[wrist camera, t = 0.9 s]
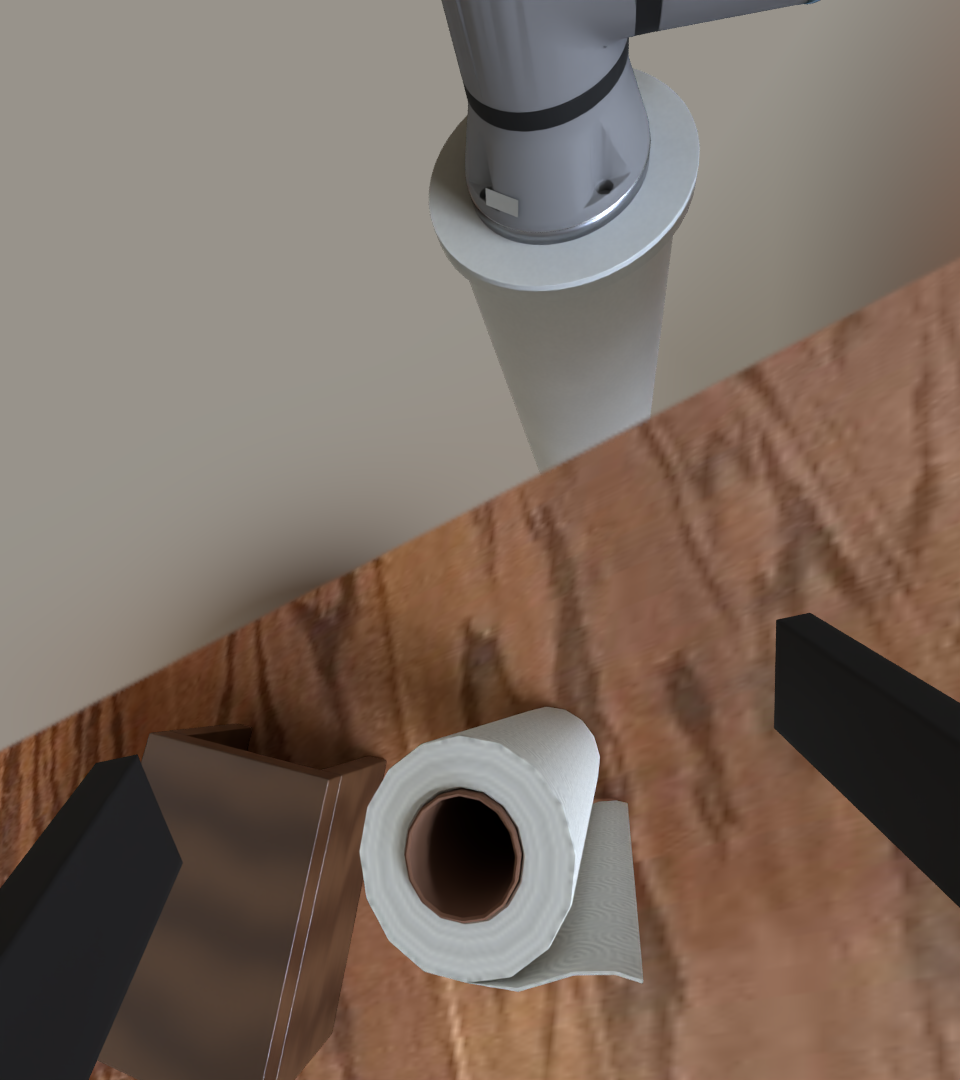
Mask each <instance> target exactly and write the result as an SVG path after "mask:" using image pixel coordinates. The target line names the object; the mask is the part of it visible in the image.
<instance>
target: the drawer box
mask: <svg viewBox="0 0 960 1080" xmlns="http://www.w3.org/2000/svg"><path fill="white" fill-rule="evenodd" d="M251 731H252V727H249V726H245V725H241V724H237V723H236V724H227V725H217V726H208V727H199V728H189V729H180V730H170V731H163V732H153V733H150V734H149V737H148V741H147V744H146V748H145V751H144V755H143V758H142V762H141V764H142V767H143V769H144V771H145V774H146V776H147V779H148V781H149V783H150V786H151V788H152V790H153V793H154V795H155V797H156V800H157V802H158V805H159V807H160V809H161V812H162V814H163V816H164V819H165V821H166V824H167V826H168V828H169V831H170V833H171V835H172V838H173V840H174V842H175V845H176V847H177V850H178V852H179V854H180V857H181V859H182V861H183V864H182V866H181V869H180V871H179V873H178V875H177V878H176V880H175V882H174V885H173V887H172V889H171V892H170V894H169V896H168V898H167V901H166V903H165V905H164V908H163V910H162V912H161V914H160V917H159V919H158V921H157V924H156V926H155V928H154V931H153V933H152V935H151V937H150V940H149V942H148V944H147V947H146V949H145V951H144V953H143V956H142V958H141V960H140V963H139V965H138V967H137V970H136V972H135V974H134V976H133V979H132V981H131V983H130V986H129V988H128V990H127V993H126V995H125V997H124V999H123V1002H122V1004H121V1006H120V1009H119V1011H118V1013H117V1015H116V1018H115V1020H114V1022H113V1025H112V1027H111V1029H110V1032H109V1034H108V1036H107V1038H106V1041H105V1043H104V1045H103V1048H102V1050H101V1052H100V1055H99V1057H98V1059H97V1060H98V1061H100V1062H102V1063H104V1064H106V1065H108V1066H110V1067H112V1068H115V1069H117V1070H119V1071H121V1072H123V1073H125V1074H127V1075H129V1076H131V1077H134V1078H136V1079H138V1080H295V1079H296V1077H297V1076H298V1075H299V1074H300V1072H301V1071H302V1070H303V1069H304V1067H305V1066H306V1065H307V1064H308V1063H309V1061H310V1060H311V1059H312V1058H313V1056H314V1055H315V1054H316V1053H317V1051H318V1050H319V1049H320V1048H321V1047H322V1045H323V1044H324V1043H325V1042H326V1040H327V1039H328V1038H329V1037H330V1035H331V1034H332V1031H333V1026H334V1021H335V1016H336V1011H337V1006H338V1001H339V996H340V991H341V986H342V981H343V976H344V971H345V966H346V961H347V956H348V951H349V946H350V941H351V936H352V931H353V926H354V921H355V916H356V911H357V906H358V901H359V896H360V891H361V886H362V881H363V871H362V865H361V858H360V846H361V840H362V835H363V829H364V823H365V818H366V812H367V807H368V805H369V803H370V802H371V800H372V798H373V796H374V795H375V793H376V791H377V790H378V788H379V786H380V784H381V783H382V781H383V777H384V772H385V767H386V760H384V759H380V758H376V757H372V756H367V757H363V758H360V759H357V760H353V761H350V762H346V763H343V764H340V765H336V766H333V767H329V768H326V769H323V770H318V769H314V768H311V767H307V766H303V765H299V764H295V763H291V762H287V761H283V760H280V759H276V758H272V757H268V756H264V755H260V754H256V753H252V752H249V751H247V747H248V743H249V739H250V735H251Z"/></svg>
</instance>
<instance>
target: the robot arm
mask: <svg viewBox="0 0 960 1080" xmlns="http://www.w3.org/2000/svg"><path fill="white" fill-rule="evenodd" d="M818 1H820V0H442V4H443V8H444V11H445V15H446V19H447V23H448V27H449V31H450V34H451V38H452V42H453V46H454V49H455V53H456V57H457V61H458V65H459V68H460V73H461V76H462V79H463V83H464V87H465V91H466V95H467V99H468V118H467V137H466V156H465V172H466V182H467V187H468V191H469V194H470V197H471V201H472V204H473V207H474V209H475V211H476V213H477V215H478V216H479V218H480V219H481V220H482V222H483V223H484V224H485V225H486V226H487V227H488V228H489V229H491V230H492V231H494V232H495V233H496V234H498V235H500V236H502V237H504V238H506V239H509V240H512V241H515V242H519V243H524V244H531V245H550V244H558V243H563V242H568V241H571V240H575V239H578V238H581V237H583V236H586V235H588V234H590V233H592V232H594V231H596V230H598V229H600V228H601V227H603V226H605V225H606V224H608V223H609V222H610V221H612V220H613V219H614V218H616V217H617V216H618V215H619V214H620V213H621V212H622V211H623V210H624V209H625V208H626V207H627V206H628V205H629V204H630V203H631V202H632V200H633V199H634V198H635V196H636V195H637V193H638V192H639V190H640V188H641V186H642V184H643V182H644V180H645V177H646V174H647V171H648V166H649V157H650V142H651V139H650V129H649V121H648V116H647V113H646V110H645V107H644V104H643V101H642V97H641V94H640V91H639V88H638V85H637V82H636V78H635V75H634V72H633V69H632V66H631V63H630V59H629V56H628V49H629V47H628V46H629V44H628V43H629V37H633V36H636V35H641V34H645V33H650V32H655V31H661V30H666V29H672V28H677V27H682V26H688V25H693V24H698V23H703V22H709V21H714V20H719V19H724V18H730V17H735V16H740V15H746V14H751V13H756V12H761V11H767V10H772V9H777V8H782V7H787V6H793V5H800V4H811V3H815V2H818ZM774 728H775V729H776V730H777V731H778V732H779V733H780V734H781V735H782V736H783V737H784V738H785V739H786V740H787V741H788V742H789V743H790V744H791V745H792V746H793V747H794V748H795V749H796V750H797V751H798V752H799V753H800V754H801V755H803V756H804V757H805V758H806V759H807V760H808V761H809V762H810V763H811V764H812V765H813V766H814V767H815V768H816V769H817V770H818V771H819V772H820V773H821V774H822V775H823V776H824V777H825V778H826V779H827V780H828V781H829V782H830V783H831V784H832V785H834V786H835V787H836V788H837V789H838V790H839V791H840V792H841V793H842V794H843V795H844V796H845V797H846V798H847V799H848V800H849V801H850V802H851V803H852V804H853V805H854V806H855V807H856V808H857V809H858V810H859V811H860V812H861V813H862V814H864V815H865V816H866V817H867V818H868V819H869V820H870V821H871V822H872V823H873V824H874V825H875V826H876V827H877V828H878V829H879V830H880V831H881V832H882V833H883V834H884V835H885V836H886V837H887V838H888V839H889V840H890V841H891V842H892V843H893V844H895V845H896V846H897V847H898V848H899V849H900V850H901V851H902V852H903V853H904V854H905V855H906V856H907V857H908V858H909V859H910V860H911V861H912V862H913V863H914V864H915V865H916V866H917V867H918V868H919V869H920V870H921V871H922V872H923V873H924V874H926V875H927V876H928V877H929V878H930V879H931V880H932V881H933V882H934V883H935V884H936V885H937V886H938V887H939V888H940V889H941V890H942V891H943V892H944V893H945V894H946V895H947V896H948V897H949V898H950V899H951V900H952V901H953V902H954V903H955V904H957V905H958V906H959V907H960V703H959V702H957V701H956V700H954V699H952V698H951V697H949V696H947V695H946V694H944V693H942V692H941V691H939V690H937V689H936V688H934V687H932V686H931V685H929V684H927V683H926V682H924V681H922V680H921V679H919V678H917V677H916V676H914V675H912V674H911V673H909V672H907V671H906V670H904V669H902V668H901V667H899V666H897V665H896V664H894V663H892V662H891V661H889V660H887V659H886V658H884V657H883V656H881V655H879V654H878V653H876V652H874V651H873V650H871V649H869V648H868V647H866V646H864V645H863V644H861V643H859V642H858V641H856V640H854V639H853V638H851V637H849V636H848V635H846V634H844V633H843V632H841V631H839V630H838V629H836V628H834V627H833V626H831V625H829V624H828V623H826V622H824V621H823V620H821V619H819V618H818V617H816V616H814V615H813V614H811V613H807V614H802V615H797V616H793V617H788V618H783V619H778V620H776V662H775V711H774ZM182 864H183V861H182V859H181V857H180V854H179V852H178V850H177V847H176V845H175V842H174V840H173V838H172V835H171V833H170V831H169V828H168V826H167V824H166V821H165V819H164V816H163V814H162V812H161V809H160V807H159V805H158V802H157V800H156V797H155V795H154V793H153V790H152V788H151V786H150V783H149V781H148V779H147V776H146V774H145V771H144V769H143V767H142V764H141V762H140V760H139V757H138V755H132V756H127V757H123V758H118V759H113V760H108V761H104V762H99V763H96V764H95V765H94V766H93V768H92V769H91V770H90V772H89V773H88V774H87V776H86V777H85V778H84V779H83V781H82V782H81V783H80V785H79V786H78V787H77V789H76V790H75V791H74V793H73V794H72V795H71V796H70V798H69V799H68V800H67V802H66V803H65V804H64V806H63V807H62V808H61V810H60V811H59V812H58V813H57V815H56V816H55V817H54V819H53V820H52V821H51V823H50V824H49V825H48V827H47V828H46V829H45V830H44V832H43V833H42V834H41V836H40V837H39V838H38V840H37V841H36V842H35V844H34V845H33V846H32V848H31V849H30V850H29V851H28V853H27V854H26V855H25V857H24V858H23V859H22V861H21V862H20V863H19V865H18V866H17V867H16V868H15V870H14V871H13V872H12V874H11V875H10V876H9V878H8V879H7V880H6V882H5V883H4V884H3V885H2V887H1V888H0V1080H89V1077H90V1075H91V1073H92V1071H93V1068H94V1066H95V1064H96V1061H97V1059H98V1057H99V1055H100V1052H101V1050H102V1048H103V1045H104V1043H105V1041H106V1038H107V1036H108V1034H109V1032H110V1029H111V1027H112V1025H113V1022H114V1020H115V1018H116V1015H117V1013H118V1011H119V1009H120V1006H121V1004H122V1002H123V999H124V997H125V995H126V993H127V990H128V988H129V986H130V983H131V981H132V979H133V976H134V974H135V972H136V970H137V967H138V965H139V963H140V960H141V958H142V956H143V953H144V951H145V949H146V947H147V944H148V942H149V940H150V937H151V935H152V933H153V931H154V928H155V926H156V924H157V921H158V919H159V917H160V914H161V912H162V910H163V908H164V905H165V903H166V901H167V898H168V896H169V894H170V892H171V889H172V887H173V885H174V882H175V880H176V878H177V875H178V873H179V871H180V869H181V866H182Z"/></svg>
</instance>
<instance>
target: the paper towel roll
mask: <svg viewBox="0 0 960 1080" xmlns="http://www.w3.org/2000/svg"><path fill="white" fill-rule="evenodd" d="M599 760H600V755H599V752H598V748H597V745H596V741H595V738H594V736H593V734H592V733H591V732H590V730H589V729H588V728H587V726H586V725H585V724H584V722H583V721H582V720H581V719H579V718H578V717H576V716H574V715H573V714H571V713H570V712H568V711H566V710H564V709H558V708H552V707H543V708H539V709H535V710H531V711H527V712H524V713H521V714H517V715H514V716H511V717H508V718H504V719H501V720H498V721H495V722H491V723H488V724H485V725H482V726H478V727H475V728H472V729H468V730H465V731H462V732H459V733H455V734H452V735H449V736H446V737H442V738H439V739H436V740H433V741H429V742H426V743H423V744H421V745H419V746H418V747H417V748H416V749H414V750H413V751H412V752H410V753H409V754H408V755H407V756H405V757H404V758H403V759H401V760H400V761H399V762H398V763H396V764H395V765H394V766H393V767H391V768H390V769H389V770H388V772H387V774H386V776H385V777H384V779H383V781H382V783H381V784H380V786H379V788H378V790H377V791H376V793H375V795H374V796H373V798H372V800H371V802H370V803H369V805H368V807H367V812H366V818H365V823H364V829H363V835H362V840H361V846H360V858H361V865H362V871H363V878H364V884H365V891H366V897H367V900H368V902H369V904H370V906H371V908H372V909H373V911H374V913H375V915H376V917H377V919H378V921H379V923H380V925H381V926H382V928H383V930H384V932H385V934H386V936H387V938H388V940H389V941H390V942H391V943H392V944H393V945H395V946H396V947H397V948H398V949H399V950H400V951H401V952H403V953H404V954H405V955H406V956H407V957H408V958H409V959H411V960H412V961H413V962H414V963H415V964H416V965H417V966H419V967H420V968H421V969H422V970H423V971H424V972H428V973H432V974H436V975H439V976H443V977H447V978H450V979H454V980H458V981H462V982H465V983H470V984H476V985H482V986H488V987H494V988H500V989H506V990H512V991H518V992H519V991H522V990H526V989H529V988H533V987H536V986H539V985H543V984H546V983H550V982H553V981H556V980H560V979H563V978H567V977H570V976H574V975H618V976H621V977H624V978H627V979H630V980H633V981H637V982H640V983H643V971H642V960H641V949H640V938H639V927H638V915H637V904H636V893H635V882H634V871H633V859H632V848H631V837H630V826H629V815H628V803H625V802H620V801H603V802H597V803H594V804H593V799H594V794H595V789H596V784H597V779H598V771H599Z"/></svg>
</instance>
